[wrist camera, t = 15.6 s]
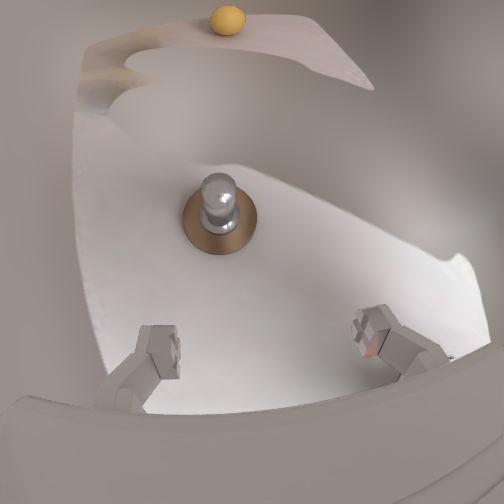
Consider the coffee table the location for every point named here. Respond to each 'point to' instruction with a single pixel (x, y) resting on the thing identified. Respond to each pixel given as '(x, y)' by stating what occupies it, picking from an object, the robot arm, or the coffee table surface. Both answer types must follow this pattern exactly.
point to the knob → (219, 204)
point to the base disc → (220, 242)
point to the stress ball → (227, 20)
